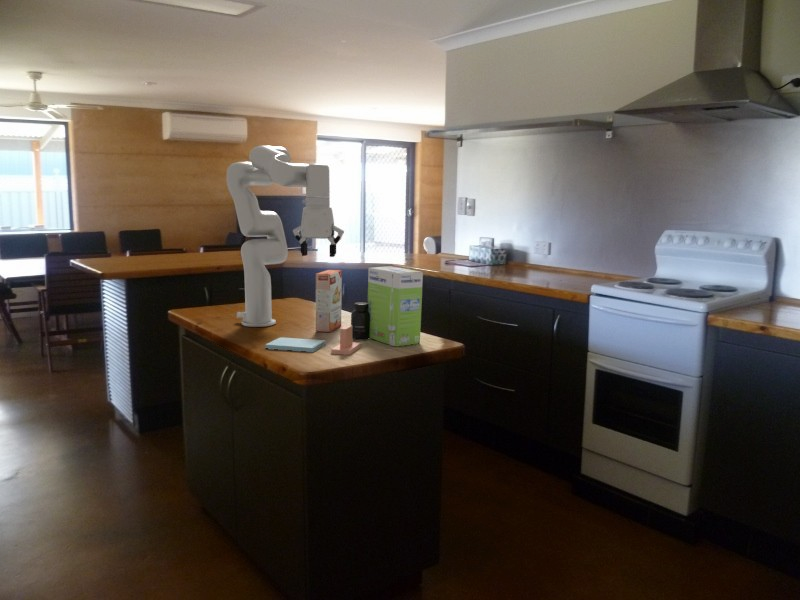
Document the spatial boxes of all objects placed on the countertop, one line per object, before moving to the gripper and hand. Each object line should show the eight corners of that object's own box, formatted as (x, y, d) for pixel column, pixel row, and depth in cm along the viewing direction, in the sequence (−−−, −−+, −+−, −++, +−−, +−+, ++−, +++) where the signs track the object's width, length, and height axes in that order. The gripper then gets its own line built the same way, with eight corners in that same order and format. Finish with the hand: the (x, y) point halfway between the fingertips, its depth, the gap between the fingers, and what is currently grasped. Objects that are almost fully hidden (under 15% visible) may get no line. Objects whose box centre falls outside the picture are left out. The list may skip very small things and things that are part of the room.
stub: (331, 353, 199) (331, 330, 198) (343, 345, 209) (343, 323, 208) (349, 355, 197) (349, 331, 196) (360, 347, 208) (360, 324, 207)
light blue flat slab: (265, 348, 204) (265, 344, 204) (280, 341, 215) (280, 337, 214) (313, 352, 200) (312, 347, 200) (325, 344, 211) (325, 340, 210)
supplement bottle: (356, 341, 216) (356, 305, 214) (347, 337, 222) (347, 302, 220) (374, 338, 220) (374, 303, 218) (365, 335, 226) (365, 301, 224)
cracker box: (331, 332, 229) (330, 274, 225) (315, 332, 230) (314, 273, 227) (342, 325, 242) (342, 269, 239) (327, 324, 243) (326, 269, 240)
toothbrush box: (422, 343, 213) (423, 270, 209) (396, 347, 207) (397, 272, 203) (390, 334, 227) (391, 265, 223) (366, 338, 221) (366, 267, 217)
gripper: (288, 202, 207) (289, 256, 210) (339, 203, 203) (339, 258, 206) (297, 202, 214) (298, 254, 217) (347, 203, 210) (347, 256, 213)
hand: (318, 256), depth 211 cm, fingers open, 9 cm apart
